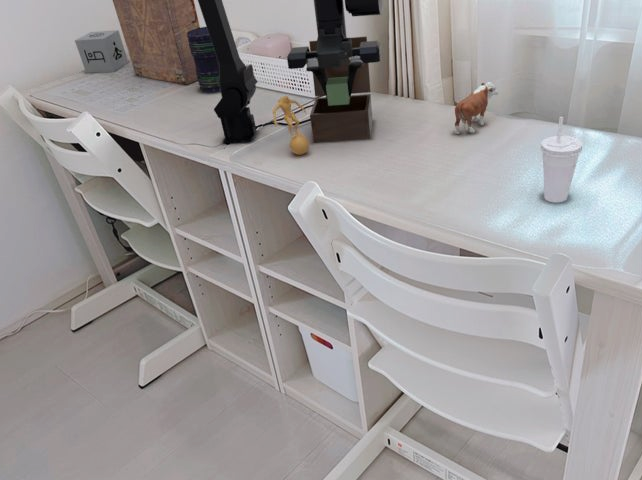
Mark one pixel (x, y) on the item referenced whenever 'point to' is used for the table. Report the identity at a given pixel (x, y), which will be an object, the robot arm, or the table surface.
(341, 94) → the block
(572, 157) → the smoothie
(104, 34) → the icon cube
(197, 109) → the table surface
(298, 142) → the figurine
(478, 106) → the bull figurine
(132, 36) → the book
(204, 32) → the storage jar
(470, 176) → the table surface
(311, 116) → the box
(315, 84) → the lid
